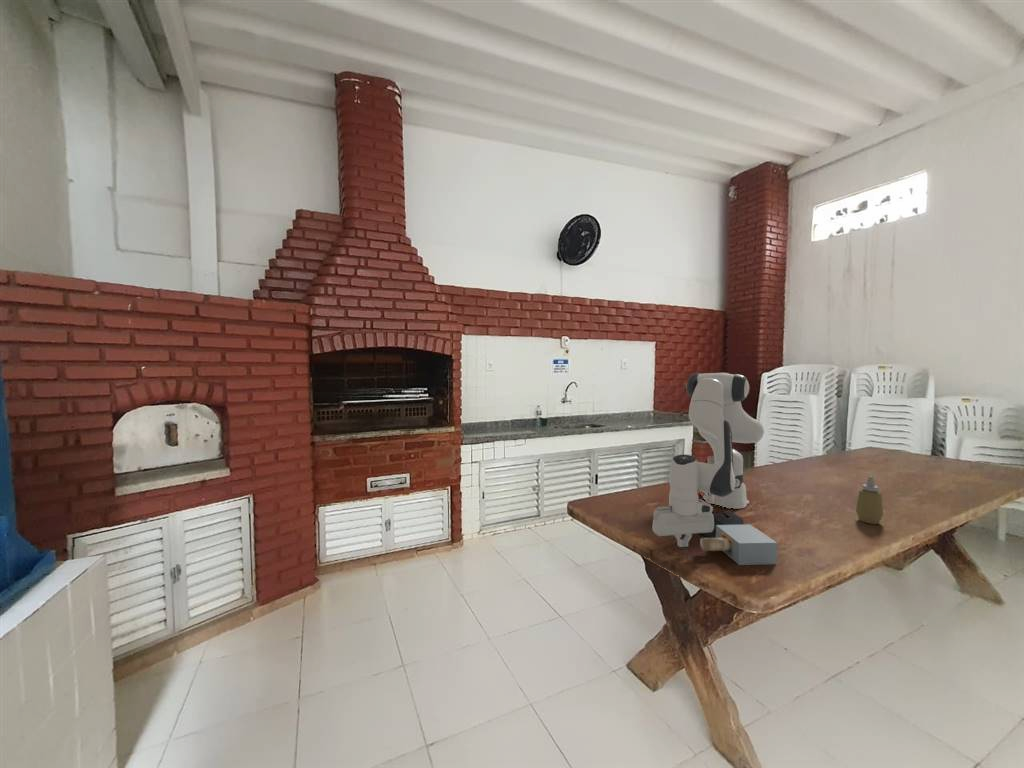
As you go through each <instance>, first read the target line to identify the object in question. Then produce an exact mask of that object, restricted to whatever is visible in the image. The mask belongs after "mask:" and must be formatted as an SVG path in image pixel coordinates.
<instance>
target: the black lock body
mask: <svg viewBox="0 0 1024 768" xmlns="http://www.w3.org/2000/svg"><path fill="white" fill-rule="evenodd" d="M712 514H713V516H714V529H713V531H712V532H707V533H700V534H701V535H703V536H705V538H716V525H745V524H744V519H743V518H742V517H740V516H739V515H737V514H735V513H733V512H732V511H731V510H727V511H722V512H721V513H715V514H714V513H712Z"/></svg>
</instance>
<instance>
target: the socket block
mask: <svg viewBox="0 0 1024 768" xmlns="http://www.w3.org/2000/svg"><path fill="white" fill-rule="evenodd" d="M716 538H728V539H729V540H730V541H731V550H730V551H723V553H724V554H726V555H727V556H728V557H729V558H730V559H732V560H733V562H735V563H736V564H737V565H738V566H752V565H753V566H754V565H757V566H758V565H760V566H761V565H777V560H778V558H777V557H778V556H777V555H778V542H777V541H775V540H774V539H773V538H771V537H769V536H768V535H766V533H763V532H762V531H761V530H759V529H757V528H756V526H755V527H754V526H753V525H751V524H744V525H716Z"/></svg>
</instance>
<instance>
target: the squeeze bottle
mask: <svg viewBox="0 0 1024 768" xmlns="http://www.w3.org/2000/svg"><path fill="white" fill-rule="evenodd" d="M855 511H856V513H857V516H858V517H857V518H858V520H859V521H861V522H862V523H866V524H871V525H878V524H879V523H880V522H881V520H882V518H883V516H884V510H883V499H882V493H881V492H880V491H879V486H878V485H875V480H874V477H873V476H871V475H869V476H868V478H867V481H866V483H864V484H862V489H860V490H858V496H857V501H856V507H855Z"/></svg>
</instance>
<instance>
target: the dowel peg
mask: <svg viewBox="0 0 1024 768" xmlns="http://www.w3.org/2000/svg"><path fill="white" fill-rule="evenodd" d="M699 542H700V543H699V544H700V548H701V550H702V551H703V552H720V551H722V552H724V551H730V550H731V541H730V540H729V539H728V538H708V537H701V538H700V540H699Z"/></svg>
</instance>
